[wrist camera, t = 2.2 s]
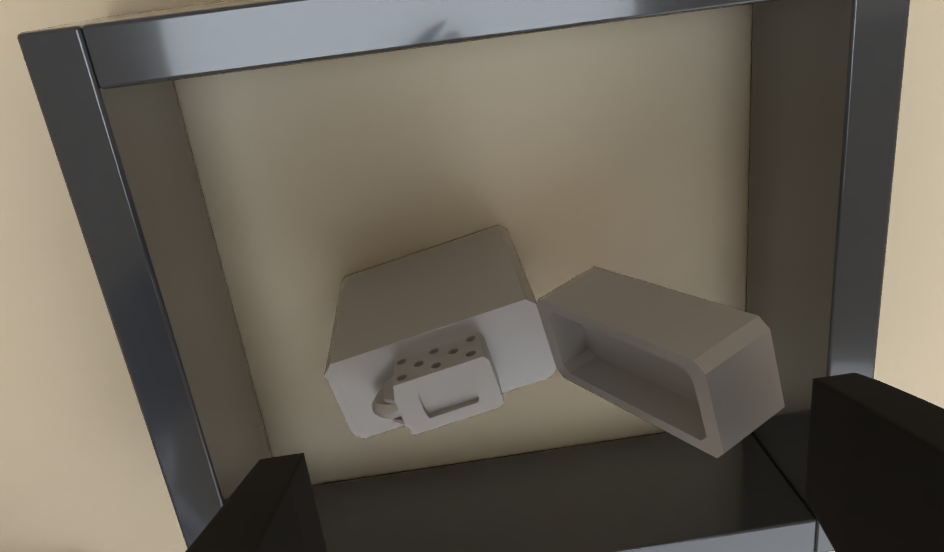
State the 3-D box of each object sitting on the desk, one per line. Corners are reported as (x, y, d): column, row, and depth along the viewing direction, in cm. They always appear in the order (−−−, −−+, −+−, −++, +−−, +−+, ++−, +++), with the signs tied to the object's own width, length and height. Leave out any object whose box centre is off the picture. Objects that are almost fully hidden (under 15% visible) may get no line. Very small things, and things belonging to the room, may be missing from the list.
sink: (265, 571, 21) (205, 842, 15) (105, 16, 16) (-107, 56, 9) (776, 492, 22) (937, 720, 15) (800, -73, 16) (1072, -97, 10)
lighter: (365, 340, 19) (342, 585, 11) (338, 278, 18) (295, 497, 11) (643, 247, 18) (805, 437, 11) (626, 181, 18) (787, 337, 10)
